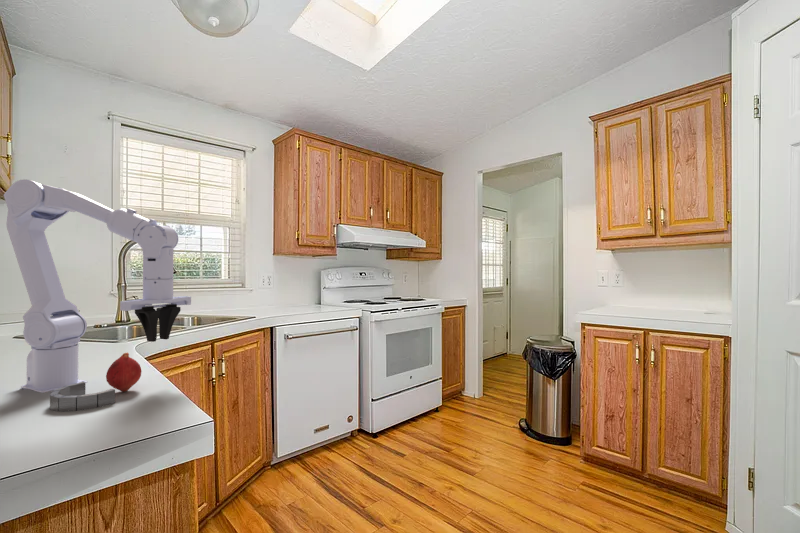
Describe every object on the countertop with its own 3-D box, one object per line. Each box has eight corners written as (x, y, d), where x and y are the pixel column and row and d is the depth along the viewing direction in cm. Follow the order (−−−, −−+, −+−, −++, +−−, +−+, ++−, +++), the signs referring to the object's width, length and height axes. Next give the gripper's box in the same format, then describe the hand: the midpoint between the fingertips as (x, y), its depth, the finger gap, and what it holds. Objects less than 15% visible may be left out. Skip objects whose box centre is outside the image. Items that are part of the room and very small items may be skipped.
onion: (111, 398, 74) (111, 357, 74) (102, 392, 77) (102, 353, 77) (145, 390, 79) (145, 352, 79) (135, 385, 82) (135, 348, 82)
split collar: (38, 406, 70) (38, 391, 70) (82, 394, 76) (82, 381, 76) (70, 416, 65) (70, 401, 65) (115, 403, 71) (115, 389, 71)
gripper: (135, 280, 76) (134, 348, 76) (200, 278, 89) (199, 336, 89) (114, 279, 79) (113, 344, 79) (180, 277, 92) (179, 333, 92)
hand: (158, 340), depth 84 cm, fingers closed
